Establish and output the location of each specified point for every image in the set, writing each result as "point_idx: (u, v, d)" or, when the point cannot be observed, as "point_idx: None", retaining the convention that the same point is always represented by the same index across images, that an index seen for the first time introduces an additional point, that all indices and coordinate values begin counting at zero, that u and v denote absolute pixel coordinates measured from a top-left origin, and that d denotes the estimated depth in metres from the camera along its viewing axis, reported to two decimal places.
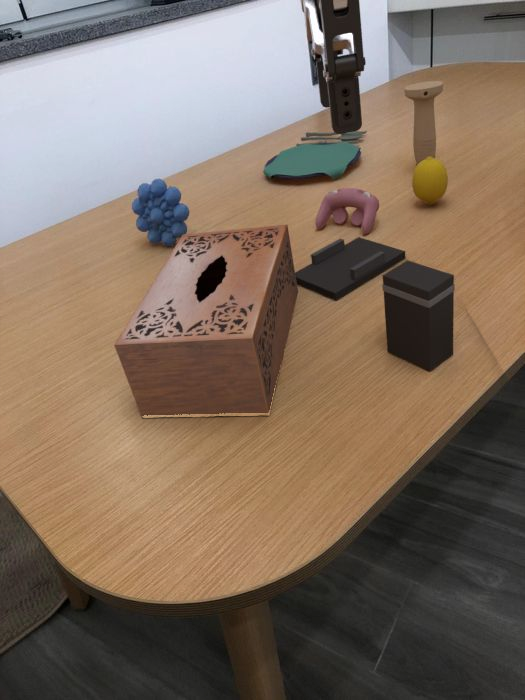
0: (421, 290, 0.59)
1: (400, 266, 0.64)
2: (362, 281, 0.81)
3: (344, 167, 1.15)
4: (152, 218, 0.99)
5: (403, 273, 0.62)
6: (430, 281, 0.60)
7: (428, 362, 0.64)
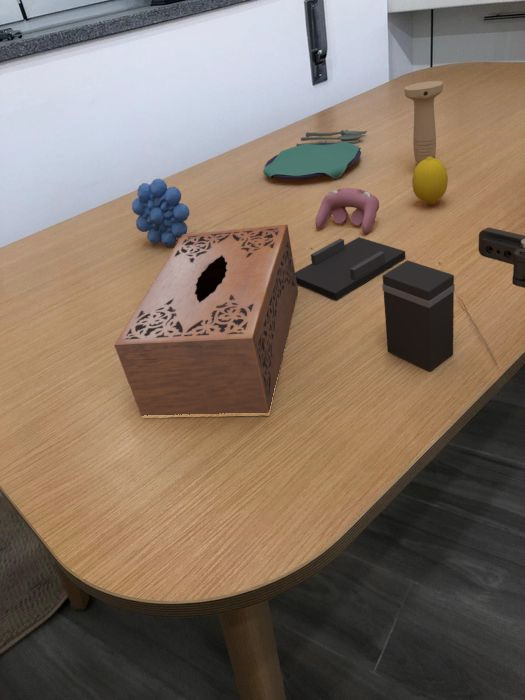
0: (421, 290, 0.59)
1: (400, 266, 0.64)
2: (362, 281, 0.81)
3: (344, 167, 1.15)
4: (152, 218, 0.99)
5: (403, 273, 0.62)
6: (430, 281, 0.60)
7: (428, 362, 0.64)
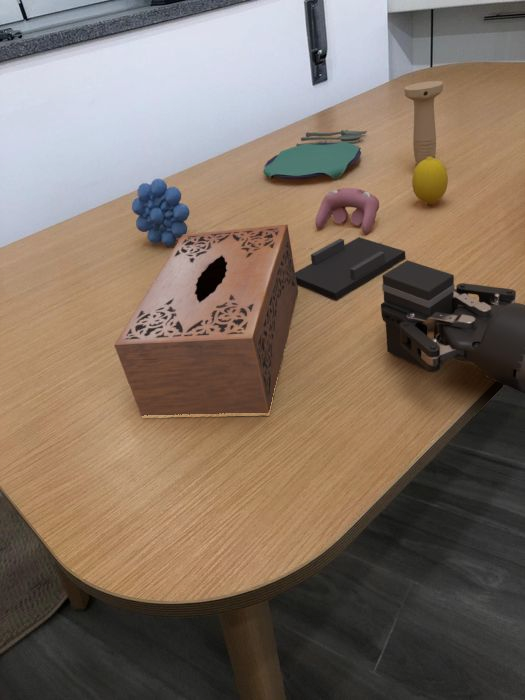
0: (421, 290, 0.59)
1: (400, 266, 0.64)
2: (362, 281, 0.81)
3: (344, 167, 1.15)
4: (152, 218, 0.99)
5: (403, 273, 0.62)
6: (430, 281, 0.60)
7: None
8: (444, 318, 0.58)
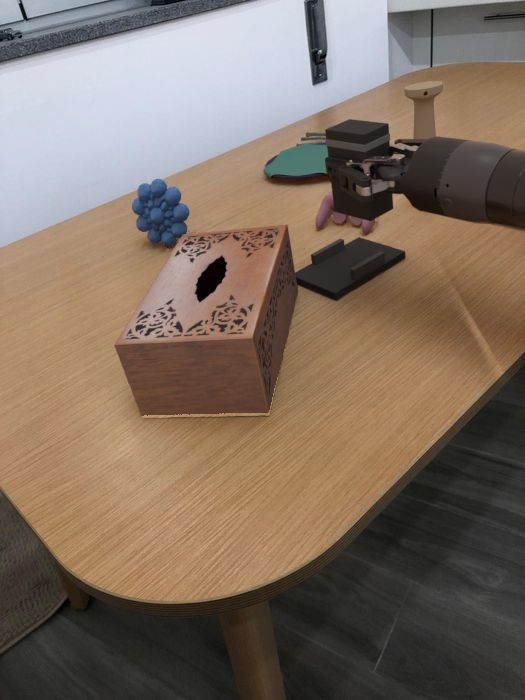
0: (357, 135, 0.65)
1: (342, 123, 0.69)
2: (362, 281, 0.81)
3: None
4: (152, 218, 0.99)
5: (344, 126, 0.68)
6: (366, 128, 0.65)
7: (368, 211, 0.69)
8: (378, 158, 0.64)
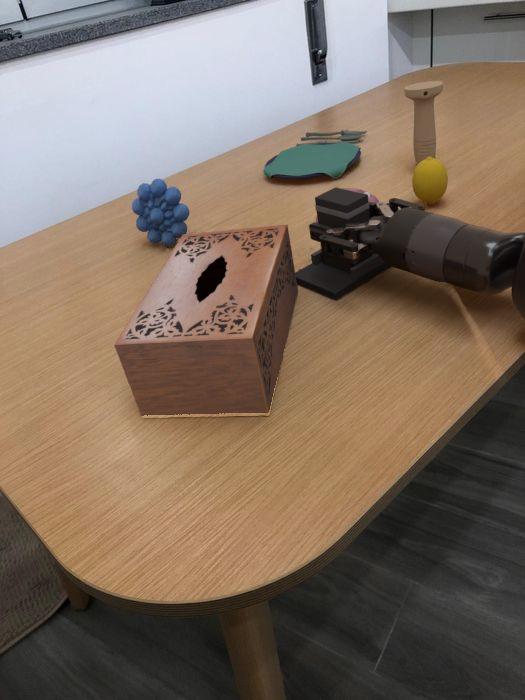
0: (341, 205, 0.77)
1: (329, 191, 0.81)
2: (362, 281, 0.81)
3: (344, 167, 1.15)
4: (152, 218, 0.99)
5: (330, 195, 0.80)
6: (349, 199, 0.78)
7: (351, 266, 0.81)
8: (358, 223, 0.76)
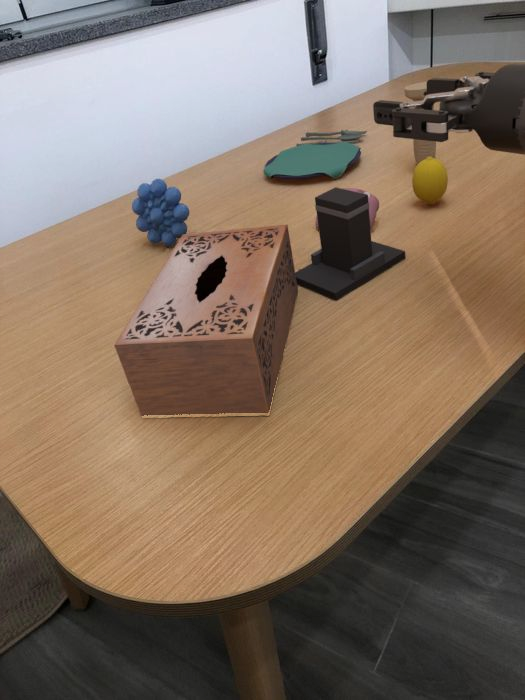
0: (341, 205, 0.77)
1: (329, 191, 0.81)
2: (362, 281, 0.81)
3: (344, 167, 1.15)
4: (152, 218, 0.99)
5: (330, 195, 0.80)
6: (349, 199, 0.78)
7: (351, 266, 0.81)
8: (443, 92, 0.58)
